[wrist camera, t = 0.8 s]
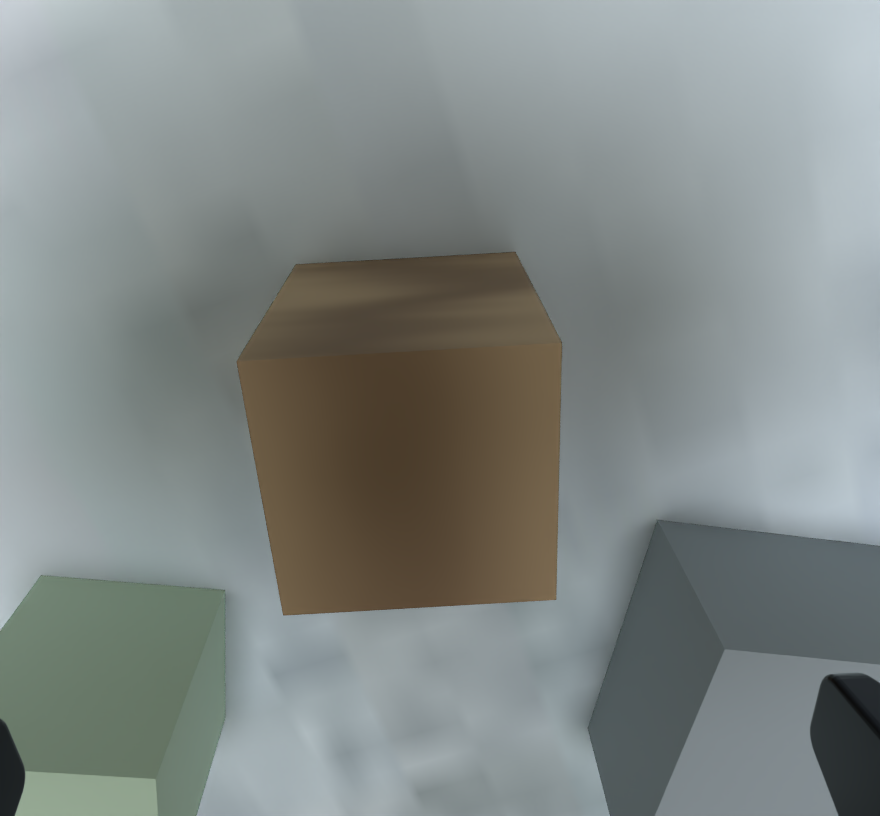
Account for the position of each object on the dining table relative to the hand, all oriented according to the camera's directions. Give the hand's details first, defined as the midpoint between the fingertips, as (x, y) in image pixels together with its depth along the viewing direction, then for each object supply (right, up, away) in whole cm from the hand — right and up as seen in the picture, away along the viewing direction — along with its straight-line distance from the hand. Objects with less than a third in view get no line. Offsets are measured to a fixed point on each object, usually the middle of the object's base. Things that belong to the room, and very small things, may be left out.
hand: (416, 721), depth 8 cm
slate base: (+10, -4, +14) cm, 17 cm away
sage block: (-9, -4, +13) cm, 16 cm away
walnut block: (0, +5, +10) cm, 11 cm away
